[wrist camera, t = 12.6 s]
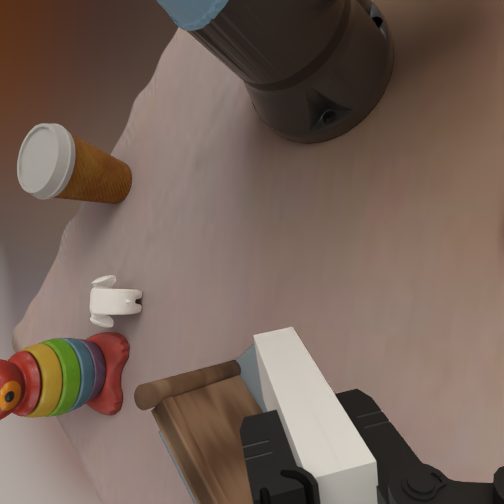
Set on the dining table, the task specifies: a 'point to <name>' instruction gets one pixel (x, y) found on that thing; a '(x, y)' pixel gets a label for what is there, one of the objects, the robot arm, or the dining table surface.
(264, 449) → the robot arm
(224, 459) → the fixed fence
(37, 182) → the disposable coffee cup
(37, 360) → the stacking bear
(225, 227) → the dining table surface
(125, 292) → the elephant figurine
